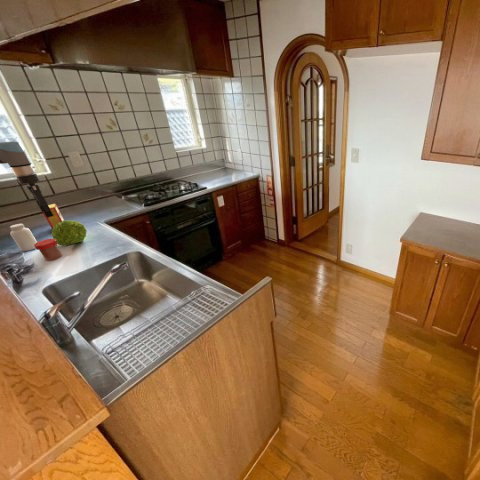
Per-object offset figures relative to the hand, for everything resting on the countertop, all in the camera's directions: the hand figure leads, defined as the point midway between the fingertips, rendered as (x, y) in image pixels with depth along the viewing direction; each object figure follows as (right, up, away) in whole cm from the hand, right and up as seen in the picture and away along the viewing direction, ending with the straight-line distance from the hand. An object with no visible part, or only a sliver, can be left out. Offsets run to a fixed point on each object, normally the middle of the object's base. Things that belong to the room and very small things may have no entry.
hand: (47, 213), depth 141 cm
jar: (+3, -25, +2) cm, 26 cm away
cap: (+2, -16, -3) cm, 16 cm away
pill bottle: (-26, -19, +16) cm, 36 cm away
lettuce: (-6, -15, +22) cm, 27 cm away
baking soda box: (-35, -6, +42) cm, 54 cm away
